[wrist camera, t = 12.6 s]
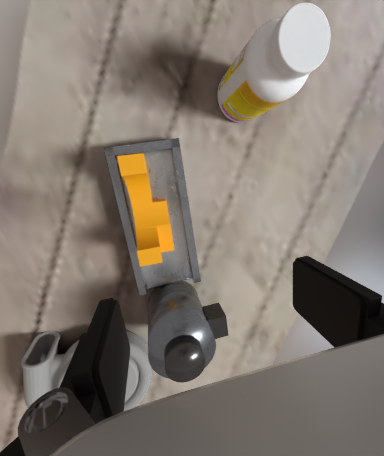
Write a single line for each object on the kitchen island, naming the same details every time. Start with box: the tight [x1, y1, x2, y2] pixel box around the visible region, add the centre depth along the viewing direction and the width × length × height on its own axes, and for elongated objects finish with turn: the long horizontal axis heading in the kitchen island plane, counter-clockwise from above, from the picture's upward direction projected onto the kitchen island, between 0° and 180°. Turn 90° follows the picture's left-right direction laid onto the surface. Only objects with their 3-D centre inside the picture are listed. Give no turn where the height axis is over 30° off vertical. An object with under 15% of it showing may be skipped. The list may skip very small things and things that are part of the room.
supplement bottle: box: [218, 2, 330, 123], centre depth 23 cm, size 7×7×13 cm
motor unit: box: [104, 138, 228, 382], centre depth 26 cm, size 28×11×12 cm, turn 8°
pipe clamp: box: [117, 153, 174, 267], centre depth 26 cm, size 12×4×6 cm, turn 7°
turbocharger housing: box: [20, 331, 152, 411], centre depth 32 cm, size 17×6×15 cm
